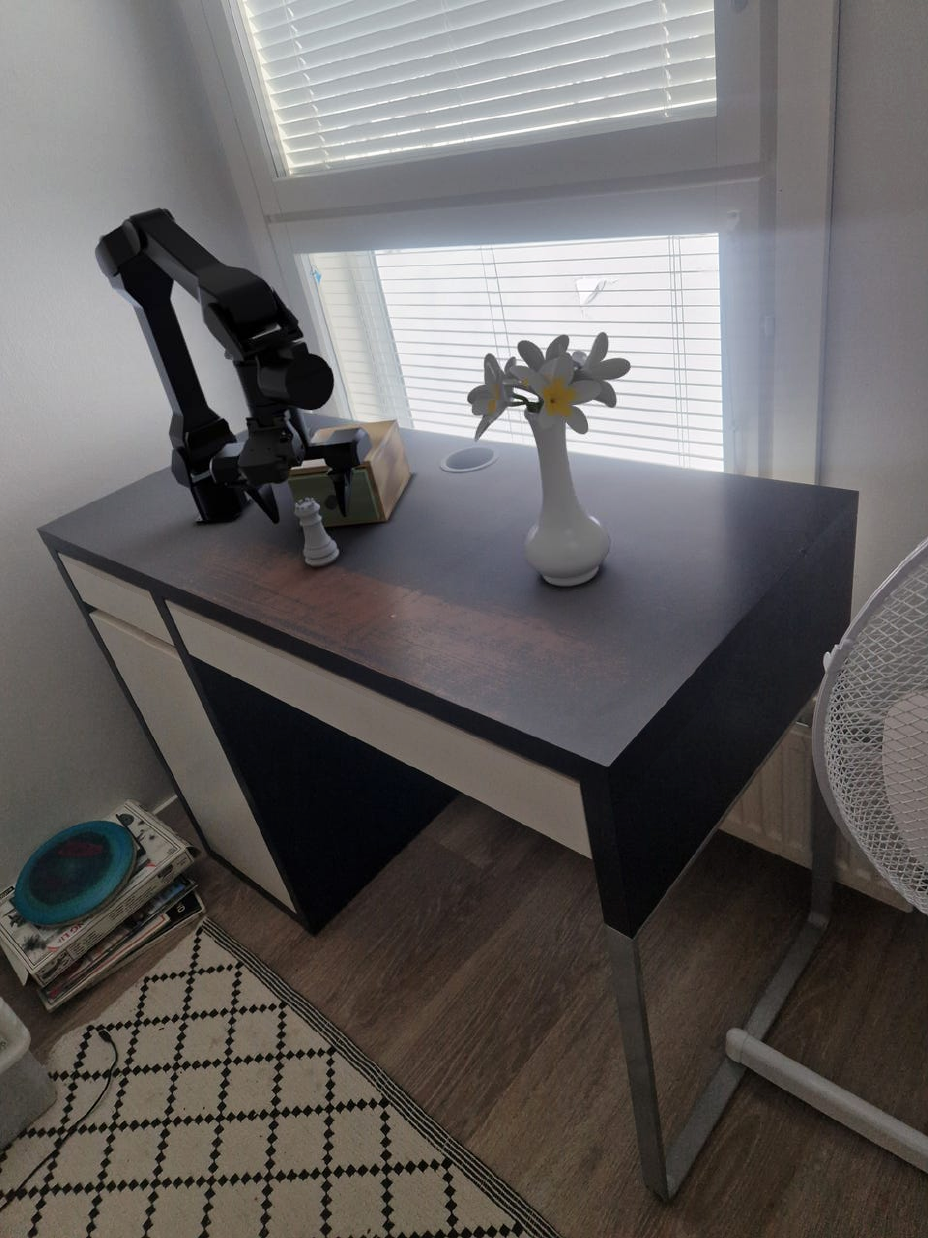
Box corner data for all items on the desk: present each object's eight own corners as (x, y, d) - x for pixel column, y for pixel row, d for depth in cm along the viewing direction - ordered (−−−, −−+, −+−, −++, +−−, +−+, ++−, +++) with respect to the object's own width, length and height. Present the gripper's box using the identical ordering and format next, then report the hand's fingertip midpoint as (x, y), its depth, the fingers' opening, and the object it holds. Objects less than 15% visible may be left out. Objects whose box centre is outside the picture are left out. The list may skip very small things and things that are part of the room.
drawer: (376, 524, 111) (362, 475, 108) (300, 531, 114) (283, 484, 111) (402, 477, 123) (390, 431, 119) (332, 484, 126) (318, 440, 122)
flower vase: (659, 535, 96) (640, 310, 83) (585, 624, 85) (549, 379, 71) (558, 523, 104) (526, 315, 90) (477, 603, 92) (426, 378, 78)
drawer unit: (386, 521, 114) (369, 460, 109) (303, 529, 117) (284, 470, 112) (411, 475, 125) (397, 418, 120) (335, 484, 128) (318, 429, 123)
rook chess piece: (312, 572, 106) (293, 514, 101) (301, 559, 109) (282, 503, 105) (345, 558, 107) (327, 501, 103) (333, 546, 110) (315, 490, 106)
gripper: (166, 434, 92) (216, 558, 101) (324, 413, 88) (363, 545, 96) (209, 398, 101) (252, 514, 110) (355, 377, 97) (388, 500, 105)
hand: (311, 519), depth 105 cm, fingers open, 9 cm apart
